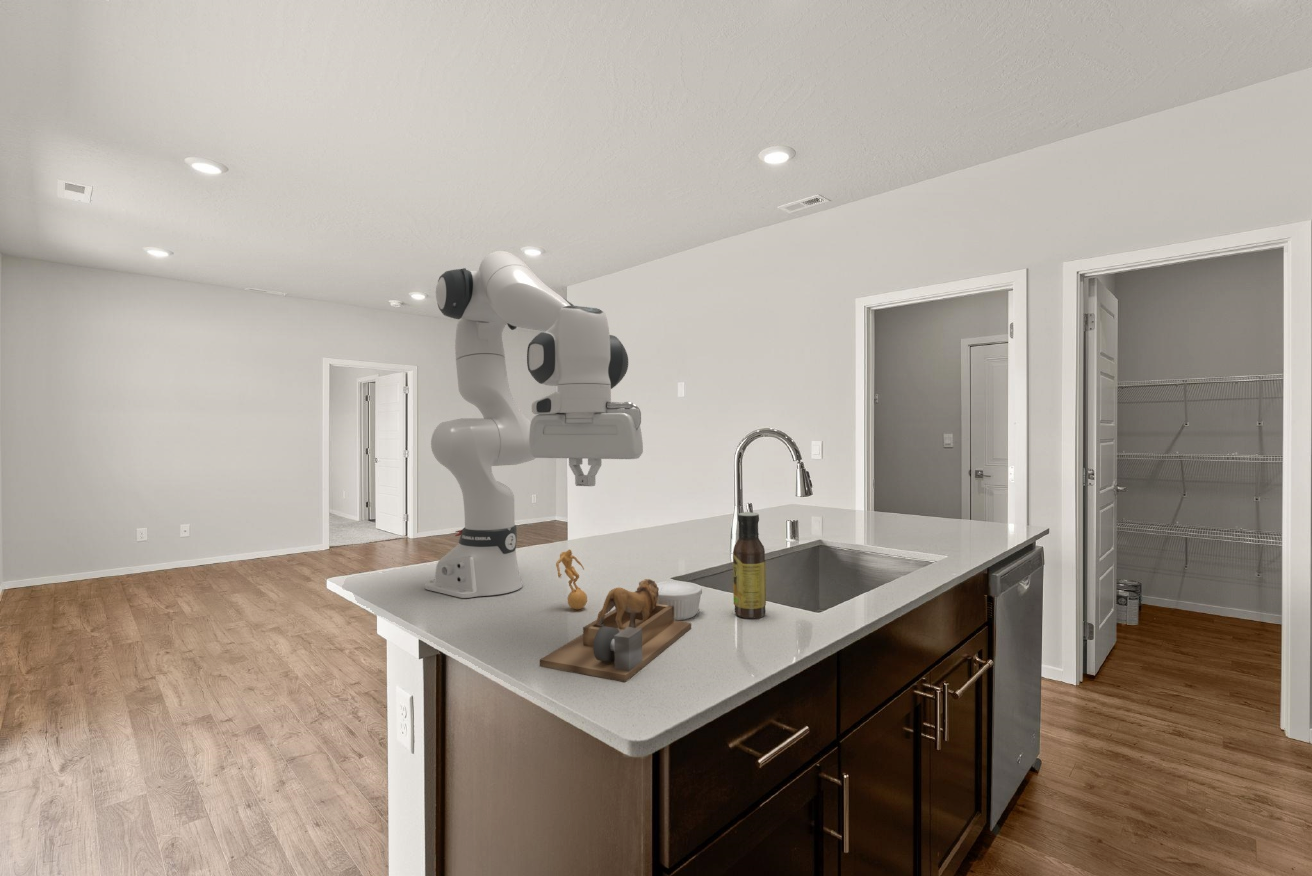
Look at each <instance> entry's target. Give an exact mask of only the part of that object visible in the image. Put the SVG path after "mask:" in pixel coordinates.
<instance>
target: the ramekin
mask: <svg viewBox="0 0 1312 876" xmlns="http://www.w3.org/2000/svg"><path fill="white" fill-rule="evenodd" d="M655 583H656V584H657V587H658V588H659V591H658V594H659V595H658V600H657V604H662V605H670V606H674V620H675V621H683V620H689V619H691V618H693V617H695V616H696V615H697V613H698V612H699V609H700V602H701V595H702V593H703V588H702V586H701V585H700V584H697V583H694V582H689V581H684V580H683V581H682V580H681V581H680V580H669V581H660V582H655Z"/></svg>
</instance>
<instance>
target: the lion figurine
mask: <svg viewBox="0 0 1312 876" xmlns="http://www.w3.org/2000/svg"><path fill="white" fill-rule="evenodd" d="M656 583H657V582H655V580H653V579H650V578H645V579H643V580H641V581H638V587H637V589H636V590H635V591H631V590H630V591H629V590H627V589H625V588H623V587H615V588H612V589H611V590H609V592H608V593H607V595H606V596H605V599H604V602H603V606H602V609H600V611H599V612H598V614H597V618H596V620H597V622H596V625H597V626H603V625H604V624H603V623H604V617H605V615H606V614H607V613H609V612H611V611H612V609H613V608H614V607H615V609H616V612H617V615H616V619H615V621H616V622H617V625H618V627H619V629H623V630H624V629H625V628H626V626H623V625H622V622H621V619H622V616H623V613H624V611H626V612H628V613H630V623H629V627H632V628H635V619H636V615H637V613H639V614H641V615H643V621H642V623H643V622H645V621H646V620H648V619H649V614H650V613H651V612H652V611H653V610H654V608H655V607H656V604H657V600H658V595H659V594H658V591H659V588H658V587H657V584H656Z"/></svg>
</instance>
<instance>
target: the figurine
mask: <svg viewBox="0 0 1312 876" xmlns="http://www.w3.org/2000/svg"><path fill="white" fill-rule="evenodd" d="M573 560H574V561H575V562H576V563H577V564H578V565H580V566H581V568H582V570H585V568H584V566H583V564H582V563H581V561H579V560H578V559H577V557H576V556H575V555H573V551H572V549H569V548H568V550H566V551H563V552H561V553H560V554H559V559H558V560H557V561H556V563H555V565H556V570H557V576H558V578H560V579H561V578H563V577H562V576H563V574H562V573H561V572H560V571H561V570H560V563H562V565H563V566H564V568H565V569H564V573H565V574H566V576H567V578H568V579H569V580H568V586H569V587H570V590H571V591H570V592H569V594H568V596H567V604H568V606H569V607H570V609H573V610H577V611H578V610H582V609H583V608H584V607H586V605H587V604H588V603H587V602H588V596H587V594H586V592H585V591H584V590H582V589H581V588H580V587H578V585H577V583H576V582H577V581H578V580H579V578H580V574H579V573H578V571H576V569H575V567H574V566H572V564H573ZM572 583H573V585H572ZM573 586H574V587H573Z"/></svg>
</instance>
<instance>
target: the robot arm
mask: <svg viewBox="0 0 1312 876" xmlns="http://www.w3.org/2000/svg"><path fill="white" fill-rule="evenodd" d="M435 300H436V304H437V306H438V310H439V311H440V312H441V313H442V315H443V316H445V317H447V318H450V319H454V320H458V322H457V324H456V331H455V345H454V346H455V347H454V349H455V350H454V351H455V364H456V376H457V387H458V392H459V394H460V396H461V397H462V398H463V400H465V401H466V402H467V403H470V404H471V405H474V406H475V407H476V408H477V409H478V411H480V413H481V414H482V416H483V418H477V417H475V418H467V417H466V418H457V419H456V418H455V419H451V420H446V421H443V422H441V423H439V424H438V425H437V426H436V428H435V429H434V431H433V432H432V436H431V440H430V448H431V451H432V454H433V457H434V458H435V459H436V461H437V462H438V463H439V464H440V465H441V466H443V467H444V468H446V469H447V470H448V471H450V473H451V474H452V475H453V476H454V478H455V479H456V481H457V483H458V485H459V487H460V490H461V493H462V499H463V509H464V511H463V512H464V527H463V528H462V529H460V530H456V531H455V533H457V534H455V537H459V536H460V537H459V540H458V544H456V546H454V547H453V548H452V549H451V550H449V551H448V552H447V553H446V554H445V555H444V556H442V557H441V558H440V559H439V560H438V562H437V564H436V569H435V577H434V579H432V580H429V581H427V582H426V583H425V584H424V589H425V590H428V591H433V592H436V593H441V594H445V595H449V596H451V597H452V596H453V597H457V598H460V599H468V598H475V597H485V596H497V595H503V594H508V593H513V592H515V591H517V590H520V589H522V587H523V582H522V579H521V574H520V571H519V564H518V558H517V550H516V549H517V548H516V547H517V541H518V538H517V537H518V536H517V535H518V534H517V533H518V532H517V525H516V524H515V495H514V492H513V491H512V489H511V488H510V487H508V486H507V485H506V484H504V483H502V482H500V481H498V480H496V478H495V477H494V475H493V471H492V467H498V466H501V467H502V466H514V465H515V466H516V465H520V464H524V463H525V464H526V463H527V462H531V461H534V460H535V459H568V466H569V468H570V470H571V471H572V473H573V476H574V481H575V482H574V484H575V486H577V487H594V486H596V476H597V474H598V473H599V471H600V468H601V467H602V460H637V459H640V457H641V456H642V455H643V453H644V446H643V445H644V443H643V436H642V429H641V424H642V411H641V409H640V408H639V407H638V406H637V405H636V404H634V403H633V402H631V401H624V402H617V401H612V394H611V393H612V390H613V389H614V388H615V387H616V386H617V385H618V384H620V383H621V381H622V380H623V379H624V377H625V375H626V374H627V372H628V369H629V356H628V353H627V350H626V348H625V346H624V345H623V343H622V342H621V340H620V339H619V338H618V337H617V336H616V335H613V334H610V328H609V323H608V319H607V315H606V313H605V312H604V311H603V310H601V309H600V308H597V307H588V306H579V305H574V304H573V303H572V302H570V301H569V300H567V299H566V298H564V297H562V295H560V294H558V293H557V292H555V291H554V290H553V289H552V288H550V287H549V286H548V285H547V284H546V283H544V282H543V281H542V280H541V279H540V278H539V277H538V276H537V275H536V274H535V272H534V271H533V270H532V269H531V268H530V267H529V266H528V265H527V264H526V262H524V261H523V260H522V259H521V258H520V257H518V256H517V255H515V254H513V253H511V252H510V251H506V250H496V251H492V252H491V253H488V254H487V255H486V256H484V258H483V259H482V261H481V262H480V264H479V268H478V270H469V269H467V268H466V267H463V268H458V269H451V270H450V269H449V270H446V271H445V272H444V273H442V274H441V275H440V276H439V278H438V280H437V285H436V287H435ZM506 326H507V327H508V328H509V329H510V330H512V331H514V330H516V329H517V328H521V329H527V330H532V331H539V332H540V333H538V334H537V335H535V336H534V338H533V339H532V340H531V341H530V342H529V343H528V345H527V350H526V364H527V365H526V366H527V369H528V372H529V373H530V375H531V377H532V378H533V379H534V380H535V381H536V382H537V383H538V384H539V385H540V384H541V385H545V386H551V387H553V386H554V387H557V391H555V392H554V393H551V394H549V395H546V396H544V397H542V398H540V399H537V400H534V401H533V402H532V403H531V413H532V414H534V415H535V416H533V417H532V419H531V420H530V419H529V418H527V416H525V414H524V413H523V412H522V411H521V410H520V408H519V407H518V405H517V404H516V402H515V399H514V398H513V395H512V393H511V389H510V385H509V378H508V374H507V364H506V355H505V349H504V344H503V331H504V329H505V327H506ZM583 459H585V460H586V459H587V465H588V466H590V467H589V469H588V472H587V474H584V472H583V469H582V467H581V466H582V465H583Z"/></svg>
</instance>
